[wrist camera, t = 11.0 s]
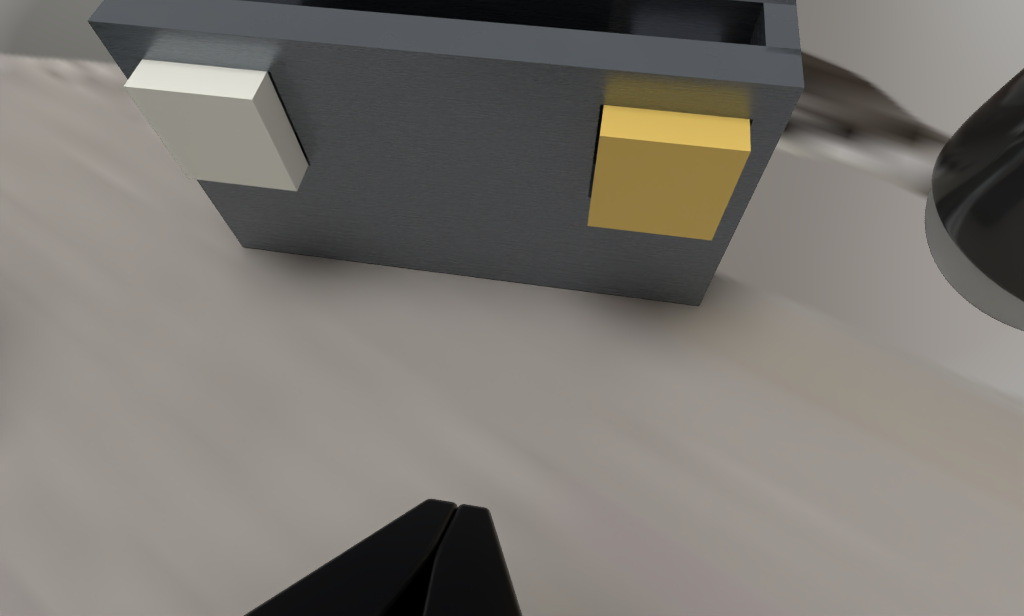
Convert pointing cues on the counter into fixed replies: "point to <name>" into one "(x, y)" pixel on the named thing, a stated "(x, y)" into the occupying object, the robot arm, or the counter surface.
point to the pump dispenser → (983, 207)
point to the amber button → (666, 171)
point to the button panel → (479, 123)
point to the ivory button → (220, 123)
